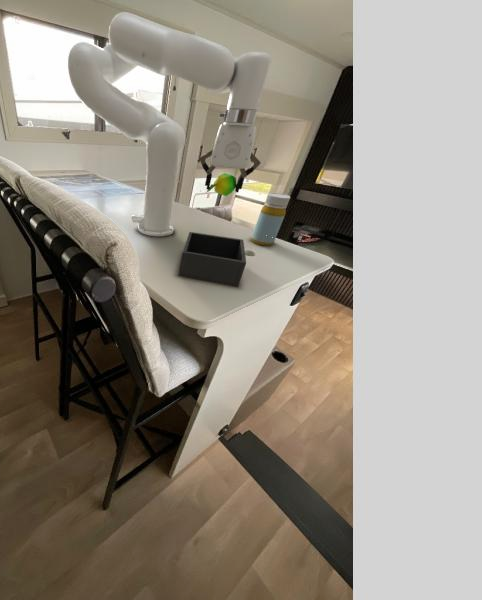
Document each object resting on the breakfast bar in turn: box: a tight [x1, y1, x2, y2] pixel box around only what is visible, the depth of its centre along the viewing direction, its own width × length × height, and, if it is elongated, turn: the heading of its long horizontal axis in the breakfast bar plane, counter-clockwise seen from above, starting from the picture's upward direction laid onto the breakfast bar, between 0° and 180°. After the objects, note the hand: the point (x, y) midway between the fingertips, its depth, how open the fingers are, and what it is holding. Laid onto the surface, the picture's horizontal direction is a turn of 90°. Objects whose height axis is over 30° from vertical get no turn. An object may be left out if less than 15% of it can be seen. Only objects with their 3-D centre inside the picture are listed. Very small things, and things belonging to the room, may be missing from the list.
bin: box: [177, 231, 247, 288], centre depth 66 cm, size 15×15×7 cm
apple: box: [205, 172, 237, 197], centre depth 75 cm, size 7×6×9 cm
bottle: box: [251, 192, 291, 247], centre depth 80 cm, size 7×7×15 cm
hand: (222, 189), depth 76 cm, fingers closed on apple, 8 cm apart
